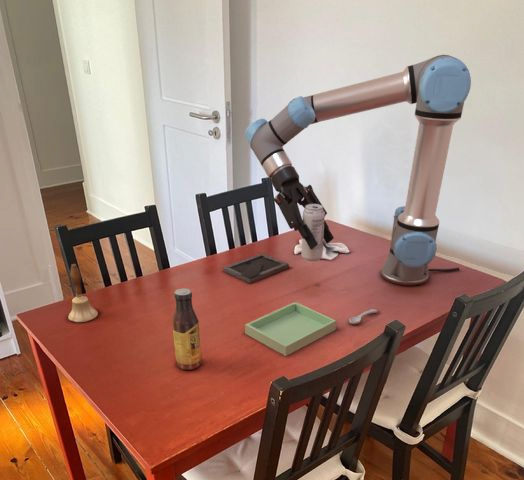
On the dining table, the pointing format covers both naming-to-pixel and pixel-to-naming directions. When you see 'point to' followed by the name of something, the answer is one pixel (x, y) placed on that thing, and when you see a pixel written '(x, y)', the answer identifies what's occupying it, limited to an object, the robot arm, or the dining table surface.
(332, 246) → the cloth
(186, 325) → the sauce bottle
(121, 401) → the dining table surface
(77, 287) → the hand bell
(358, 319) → the spoon
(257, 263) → the picture frame
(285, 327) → the tray
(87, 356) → the dining table surface
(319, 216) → the energy drink can
